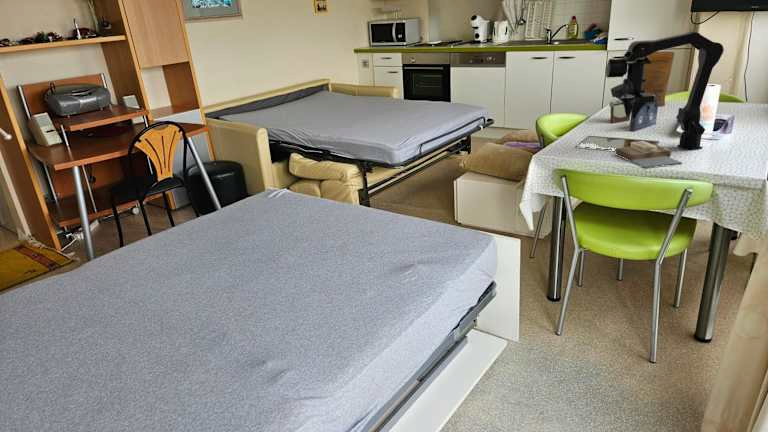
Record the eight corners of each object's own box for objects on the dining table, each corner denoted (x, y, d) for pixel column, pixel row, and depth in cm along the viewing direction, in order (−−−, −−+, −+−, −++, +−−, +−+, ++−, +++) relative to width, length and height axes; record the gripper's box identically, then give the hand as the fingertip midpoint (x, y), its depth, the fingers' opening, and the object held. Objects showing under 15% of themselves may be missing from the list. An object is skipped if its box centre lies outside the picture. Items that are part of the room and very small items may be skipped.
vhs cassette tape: (650, 123, 241) (653, 102, 237) (657, 124, 239) (659, 102, 235) (627, 130, 232) (630, 108, 228) (634, 131, 230) (636, 109, 226)
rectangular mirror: (575, 148, 213) (649, 155, 198) (575, 146, 213) (649, 153, 197) (588, 137, 227) (658, 143, 212) (588, 135, 227) (659, 141, 211)
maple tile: (641, 145, 200) (642, 140, 199) (656, 151, 192) (657, 146, 191) (629, 147, 200) (630, 142, 199) (644, 153, 191) (644, 147, 191)
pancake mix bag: (666, 107, 269) (674, 51, 258) (627, 106, 279) (633, 52, 268) (668, 105, 274) (676, 50, 263) (629, 103, 284) (635, 50, 273)
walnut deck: (653, 150, 202) (654, 144, 201) (670, 156, 193) (671, 150, 192) (615, 154, 200) (616, 148, 199) (630, 161, 191) (631, 155, 190)
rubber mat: (665, 157, 193) (665, 155, 193) (681, 164, 185) (681, 162, 184) (630, 161, 191) (630, 160, 191) (645, 168, 183) (645, 166, 183)
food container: (622, 118, 254) (624, 98, 250) (631, 120, 249) (634, 99, 245) (601, 121, 251) (603, 101, 247) (610, 124, 245) (612, 103, 242)
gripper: (602, 75, 203) (598, 114, 209) (629, 81, 185) (625, 124, 191) (628, 72, 204) (624, 111, 210) (658, 78, 187) (653, 121, 193)
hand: (630, 117), depth 201 cm, fingers open, 4 cm apart
